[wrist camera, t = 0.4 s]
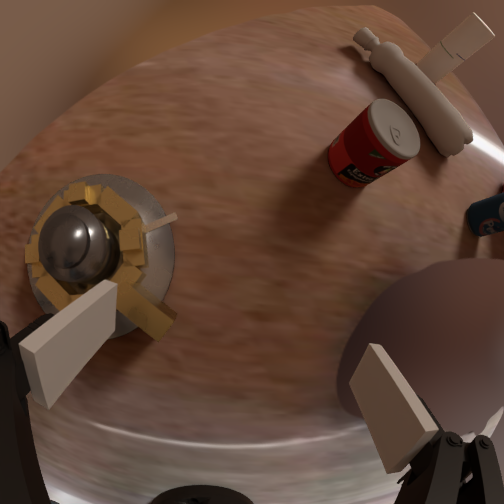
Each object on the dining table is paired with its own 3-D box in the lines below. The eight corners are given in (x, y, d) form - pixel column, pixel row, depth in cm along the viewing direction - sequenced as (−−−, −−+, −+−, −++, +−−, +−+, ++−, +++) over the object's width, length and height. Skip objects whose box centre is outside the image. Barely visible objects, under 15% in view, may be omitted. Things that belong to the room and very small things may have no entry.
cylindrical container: (438, 88, 48) (499, 41, 24) (418, 73, 47) (479, 20, 23) (433, 72, 50) (488, 27, 26) (414, 58, 49) (469, 7, 24)
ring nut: (138, 367, 25) (122, 392, 17) (27, 262, 23) (-12, 252, 16) (208, 272, 28) (216, 265, 20) (91, 175, 26) (68, 142, 19)
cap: (112, 370, 25) (87, 398, 17) (10, 267, 24) (-34, 257, 15) (208, 241, 30) (218, 220, 21) (97, 151, 28) (75, 109, 20)
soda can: (467, 235, 41) (515, 222, 30) (462, 201, 42) (507, 184, 31) (482, 239, 43) (525, 228, 31) (477, 208, 44) (519, 193, 32)
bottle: (463, 141, 42) (372, 36, 42) (483, 133, 33) (377, 14, 33) (438, 162, 44) (344, 53, 45) (456, 157, 36) (345, 31, 36)
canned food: (332, 189, 35) (383, 153, 24) (320, 136, 36) (361, 91, 25) (376, 190, 37) (428, 161, 26) (363, 141, 37) (407, 105, 27)
